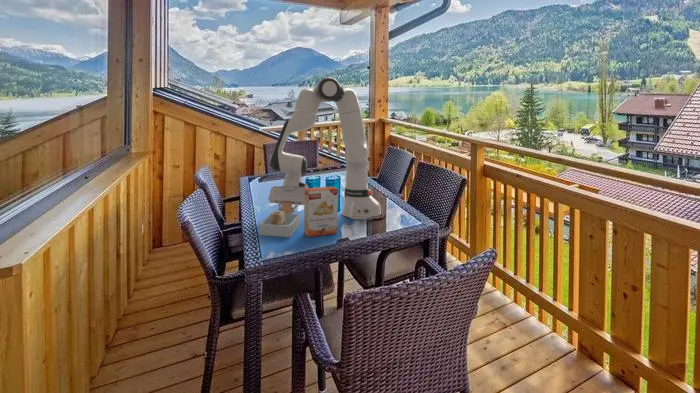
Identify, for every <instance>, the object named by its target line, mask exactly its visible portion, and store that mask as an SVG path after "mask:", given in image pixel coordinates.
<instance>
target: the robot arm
mask: <svg viewBox="0 0 700 393" xmlns="http://www.w3.org/2000/svg"><path fill="white" fill-rule="evenodd" d="M330 102H333V103H334V104H335V105H336V108H337V111H338V112H337V113H338V118H339V122H340V127H341V131H342V137H343V145H344V147H345V155H346V164H345V187H344V190H343V192H344V193H343V195H344V204H343V208H342V211H341V215H342V216H343V217H347V218H349V219H350V220H367V219H366V218H371V216H378V215H380V214H381V210H382V207H381V203H380V202H379V201H378V200H377V199H375V198H374V197H373V196H372V190H371V188H368V172H369V170H368V169H369V168H368V166H369V164H368V163H369V162H368V161H369V153H370V151H369V146H368V145H369V144H368V141H367V137H366V136H367V135H366V130H365V125H364V120H363V116H362V110H361V106H360V101H359V99H358V95H357V93H356V91H355V90H354V89H353V88H344V87H343V86H342V85H341V83H339V81H338V80H337V79H336V78H333V77H324V78H322V79H321V80H319V81H318V83H317V84H316V86H315V87H314V88H304V89H301V90H300V91H299V95H298V96H297V100H296V103H295V107H294V111H293V114H292V116H291V117H290V118H288V119H286V121H284V123H283V127H282V129H281V131H280V134H279V135H278V138H277V141H276V144H275V147H274V148H273V149H274V150H273V152H272V154H271V155H270V157H269V162H268V163H269V167H270V169H271V170H272V171H274V172H279V173H280V172H282V173H285V177H284V180H283V184H282V186H279V185H278V186H277V185H274V186H272V187H271V188H270V190H269V195H268V199H267V200H268V202H269V203H270V204H277V206H278V208H277V209H278V212H282V202H284V201H286V202H292V209H291V211H292V213H295V212H296V210H297V209H298V207H299V206H304V189H306V188H309V186H308V184H307V183H305V182H302V179H303V177H304V176H305V175H306V174H307V168H308V164H309V161H308V160H307V158H306V156H305V155H304V156H303V155H299V154H296V153H294V154H293V153H289V152H285V151H284V148H285V145H286V142H287V140H288V137H289V136H290V135H291V134H293V133H297V132H303V131H308V130H310V129H312V128H313V127H314V125H316V120H317V118H318V113H319V109H320V105H321V104H322V103H330ZM293 205H294V206H293Z"/></svg>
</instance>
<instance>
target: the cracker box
mask: <svg viewBox="0 0 700 393" xmlns="http://www.w3.org/2000/svg"><path fill="white" fill-rule="evenodd" d="M338 205H339V188H337V187H334V186H323V187H321V186H320V187H308V188H306V189H304V205H303V234H304V235H305V236H306V237H307V238H311V237H312V238H313V237H318V236H326V235H327V236H328V235H333V234H334V235H335V234H337V232H338V209H339V208H338Z"/></svg>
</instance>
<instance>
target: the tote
mask: <svg viewBox="0 0 700 393" xmlns="http://www.w3.org/2000/svg"><path fill="white" fill-rule="evenodd" d="M272 213H273V212H270V214H268V216H266V217H265V218H263V220H262V221H261V222H260V223H259V224H258V231H259V232H258V235H259V236H268V237H279V238H280V237H283V238H291V237H292V236H293V235H294V234H295V232H296V231H297V230H298V228H299V227H300V226H301V214H300V213H299V214H298V213H292V214H286V213H285V225H275V224H271V214H272Z"/></svg>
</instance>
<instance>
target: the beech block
mask: <svg viewBox="0 0 700 393" xmlns="http://www.w3.org/2000/svg"><path fill="white" fill-rule="evenodd" d="M271 213H272V214H271ZM271 213H270V214H271V224H275V225H285V212H282V211H279V210H278V211H277V210H274V211H273V212H271Z"/></svg>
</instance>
